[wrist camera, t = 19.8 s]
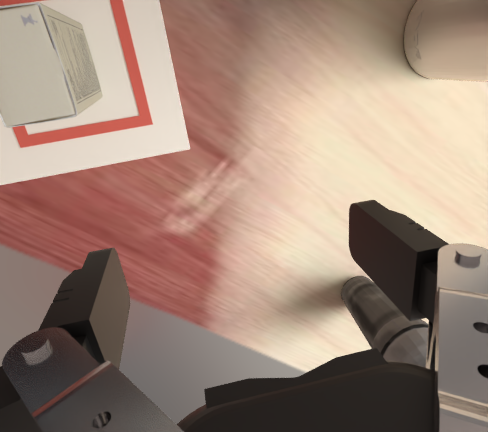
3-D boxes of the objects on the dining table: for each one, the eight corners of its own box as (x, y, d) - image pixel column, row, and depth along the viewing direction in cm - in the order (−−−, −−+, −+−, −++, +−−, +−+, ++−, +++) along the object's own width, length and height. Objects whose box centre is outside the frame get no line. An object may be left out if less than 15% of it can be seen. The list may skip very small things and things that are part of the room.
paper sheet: (144, -71, 29) (144, -73, 28) (190, 148, 36) (190, 149, 35) (-101, -46, 26) (-106, -48, 26) (1, 183, 34) (-1, 185, 33)
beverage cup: (351, 259, 46) (474, 385, 28) (391, 277, 48) (528, 402, 30) (321, 303, 47) (419, 449, 29) (361, 318, 50) (474, 460, 32)
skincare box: (29, 30, 29) (-52, 7, 18) (84, 22, 30) (39, -4, 19) (56, 108, 32) (1, 130, 21) (107, 100, 32) (79, 116, 21)
